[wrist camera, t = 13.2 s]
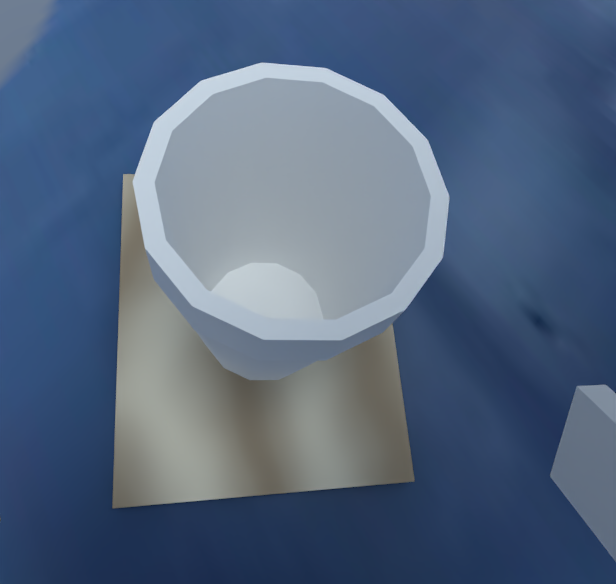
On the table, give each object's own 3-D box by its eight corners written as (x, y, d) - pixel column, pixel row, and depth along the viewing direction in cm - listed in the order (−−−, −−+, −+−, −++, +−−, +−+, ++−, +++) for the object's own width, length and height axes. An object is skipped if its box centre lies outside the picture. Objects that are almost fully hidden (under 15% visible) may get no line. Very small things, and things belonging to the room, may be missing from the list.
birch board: (366, 187, 34) (371, 176, 33) (406, 482, 28) (414, 481, 27) (126, 185, 31) (123, 174, 30) (117, 508, 26) (112, 508, 24)
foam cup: (198, 219, 30) (186, 30, 18) (364, 259, 31) (459, 103, 19) (147, 391, 26) (89, 300, 14) (335, 431, 27) (430, 377, 15)
